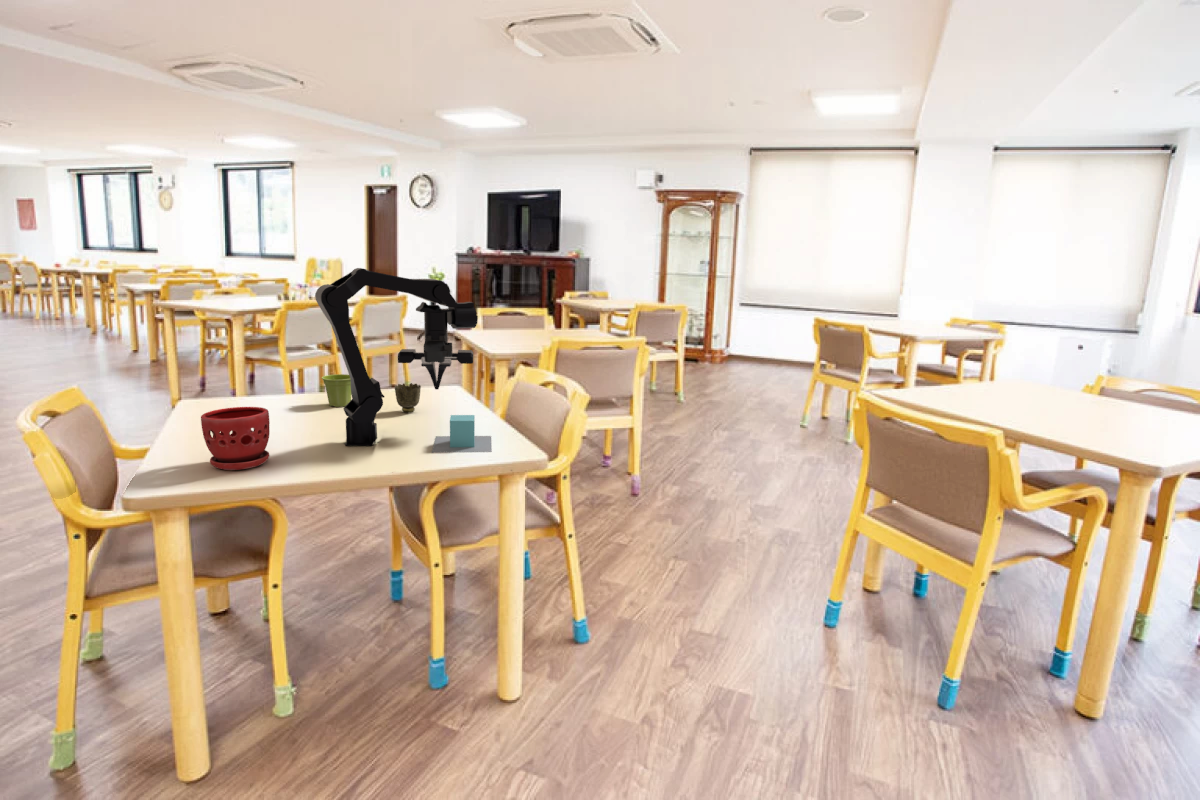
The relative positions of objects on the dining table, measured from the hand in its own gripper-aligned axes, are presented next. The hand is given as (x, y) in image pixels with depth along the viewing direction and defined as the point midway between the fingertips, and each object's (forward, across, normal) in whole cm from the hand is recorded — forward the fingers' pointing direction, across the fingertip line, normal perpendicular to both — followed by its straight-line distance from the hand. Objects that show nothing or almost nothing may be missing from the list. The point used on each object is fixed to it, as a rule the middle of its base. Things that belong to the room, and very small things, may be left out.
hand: (436, 389), depth 179 cm
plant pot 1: (+12, -41, -24) cm, 49 cm away
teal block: (+11, +7, -13) cm, 18 cm away
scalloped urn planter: (+12, -10, +24) cm, 29 cm away
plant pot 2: (+12, -31, +33) cm, 47 cm away
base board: (+12, +7, -13) cm, 19 cm away
